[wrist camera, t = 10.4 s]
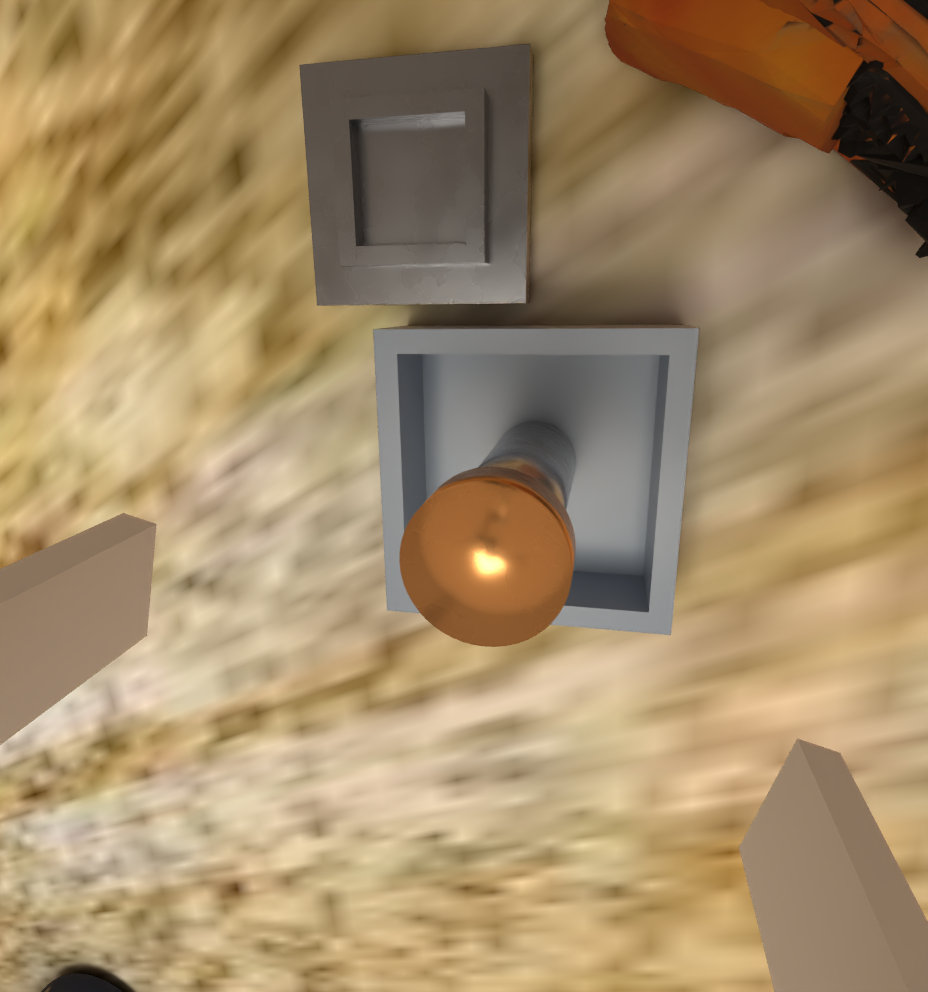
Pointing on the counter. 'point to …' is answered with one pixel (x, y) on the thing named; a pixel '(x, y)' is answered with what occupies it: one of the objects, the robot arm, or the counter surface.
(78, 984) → the canister
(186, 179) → the counter surface
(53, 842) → the counter surface
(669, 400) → the bin
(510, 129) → the collar plate
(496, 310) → the counter surface
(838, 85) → the tool
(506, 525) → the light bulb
